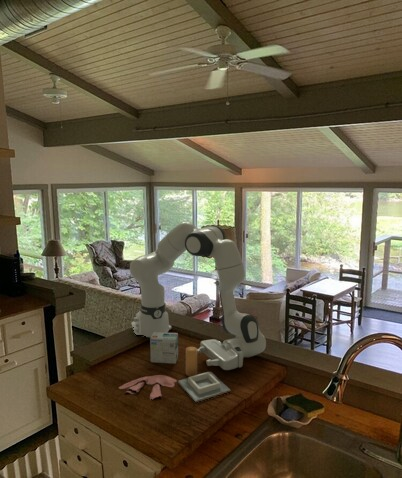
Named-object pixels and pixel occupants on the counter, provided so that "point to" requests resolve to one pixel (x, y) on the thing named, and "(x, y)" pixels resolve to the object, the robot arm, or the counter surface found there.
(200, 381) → the cylinder holder
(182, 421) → the counter surface
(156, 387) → the cloth
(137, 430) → the counter surface
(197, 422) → the counter surface
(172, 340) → the light bulb box
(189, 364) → the tapered orange cylinder
